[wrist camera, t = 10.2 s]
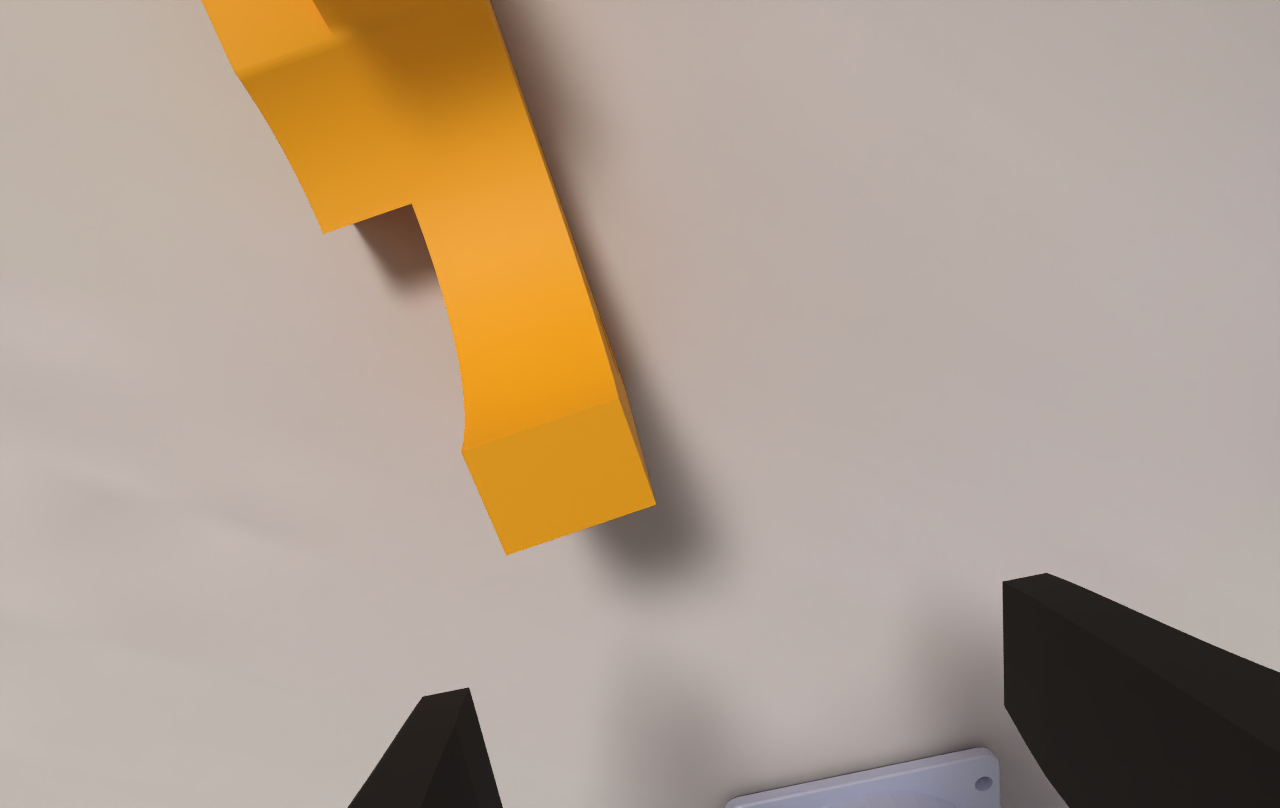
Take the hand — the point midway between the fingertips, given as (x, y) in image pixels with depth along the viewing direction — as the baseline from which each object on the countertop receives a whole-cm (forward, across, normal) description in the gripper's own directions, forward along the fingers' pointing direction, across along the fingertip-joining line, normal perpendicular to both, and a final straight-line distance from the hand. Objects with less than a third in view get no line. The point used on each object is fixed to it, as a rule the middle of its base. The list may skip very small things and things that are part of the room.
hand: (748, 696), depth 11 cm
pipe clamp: (+10, +4, -7) cm, 13 cm away
